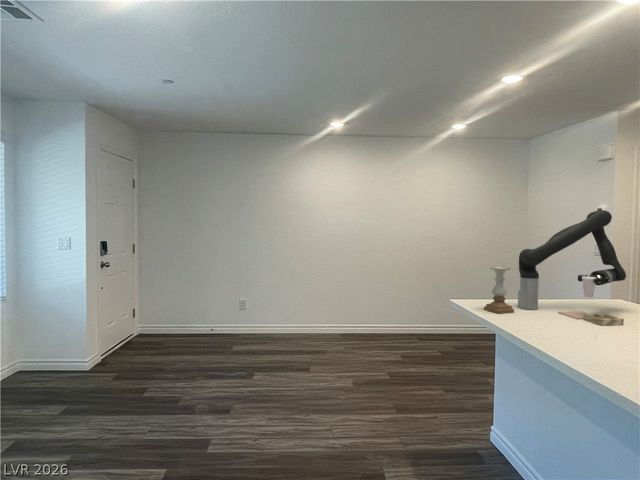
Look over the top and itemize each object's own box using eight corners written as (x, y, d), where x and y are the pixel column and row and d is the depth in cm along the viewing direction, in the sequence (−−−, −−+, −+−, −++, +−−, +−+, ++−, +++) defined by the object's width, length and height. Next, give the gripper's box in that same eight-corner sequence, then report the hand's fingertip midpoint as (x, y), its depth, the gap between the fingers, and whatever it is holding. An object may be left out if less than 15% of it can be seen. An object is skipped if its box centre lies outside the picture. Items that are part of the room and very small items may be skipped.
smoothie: (594, 295, 206) (595, 268, 205) (597, 298, 200) (598, 269, 199) (579, 295, 208) (580, 267, 207) (582, 297, 202) (583, 269, 201)
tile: (576, 319, 202) (576, 317, 202) (557, 313, 216) (557, 311, 216) (602, 318, 204) (602, 317, 204) (581, 312, 218) (581, 311, 218)
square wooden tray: (601, 325, 190) (601, 319, 190) (583, 319, 201) (583, 313, 201) (623, 325, 191) (623, 319, 191) (604, 319, 203) (604, 313, 202)
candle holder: (499, 308, 227) (500, 266, 226) (514, 312, 217) (515, 268, 216) (483, 309, 224) (484, 266, 223) (498, 314, 213) (499, 268, 212)
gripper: (586, 268, 218) (571, 271, 208) (617, 271, 206) (603, 274, 196) (585, 282, 218) (571, 285, 208) (616, 286, 206) (603, 289, 197)
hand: (587, 280), depth 202 cm, fingers closed on smoothie, 6 cm apart
